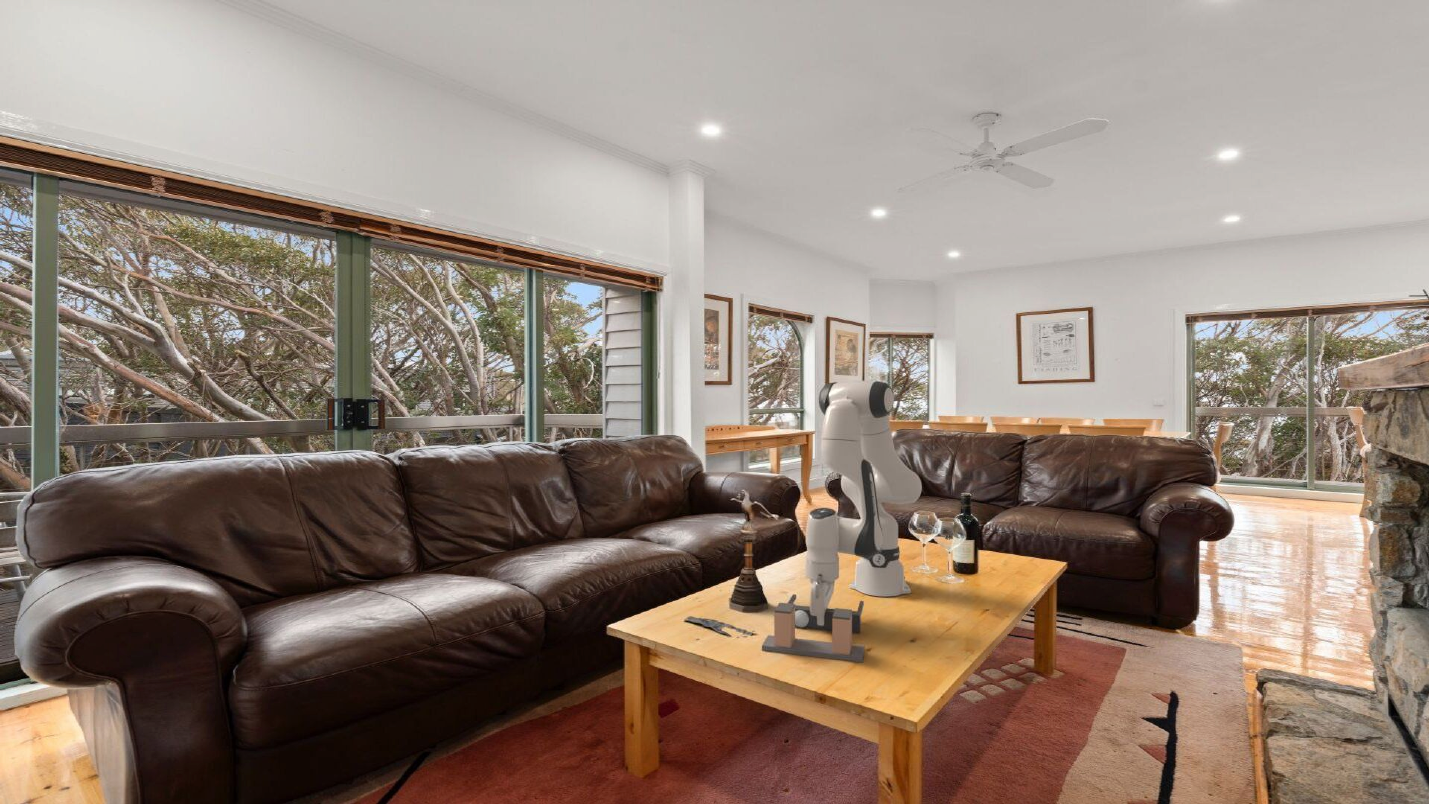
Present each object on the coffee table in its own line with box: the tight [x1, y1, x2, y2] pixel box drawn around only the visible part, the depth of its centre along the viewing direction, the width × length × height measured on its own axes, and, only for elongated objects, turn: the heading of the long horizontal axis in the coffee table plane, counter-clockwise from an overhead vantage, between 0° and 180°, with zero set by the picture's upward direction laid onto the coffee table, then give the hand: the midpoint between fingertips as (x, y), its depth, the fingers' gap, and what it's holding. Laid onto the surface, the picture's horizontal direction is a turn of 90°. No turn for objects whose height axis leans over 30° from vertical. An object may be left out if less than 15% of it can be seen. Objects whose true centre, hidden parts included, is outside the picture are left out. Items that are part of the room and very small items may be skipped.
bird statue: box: [728, 481, 780, 613], centre depth 195 cm, size 17×13×35 cm
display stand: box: [761, 602, 866, 663], centre depth 160 cm, size 7×24×10 cm, turn 73°
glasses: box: [787, 594, 865, 635], centre depth 179 cm, size 14×20×5 cm
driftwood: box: [683, 615, 755, 639], centre depth 176 cm, size 21×7×2 cm, turn 46°
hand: (822, 621), depth 175 cm, fingers closed on glasses, 3 cm apart
